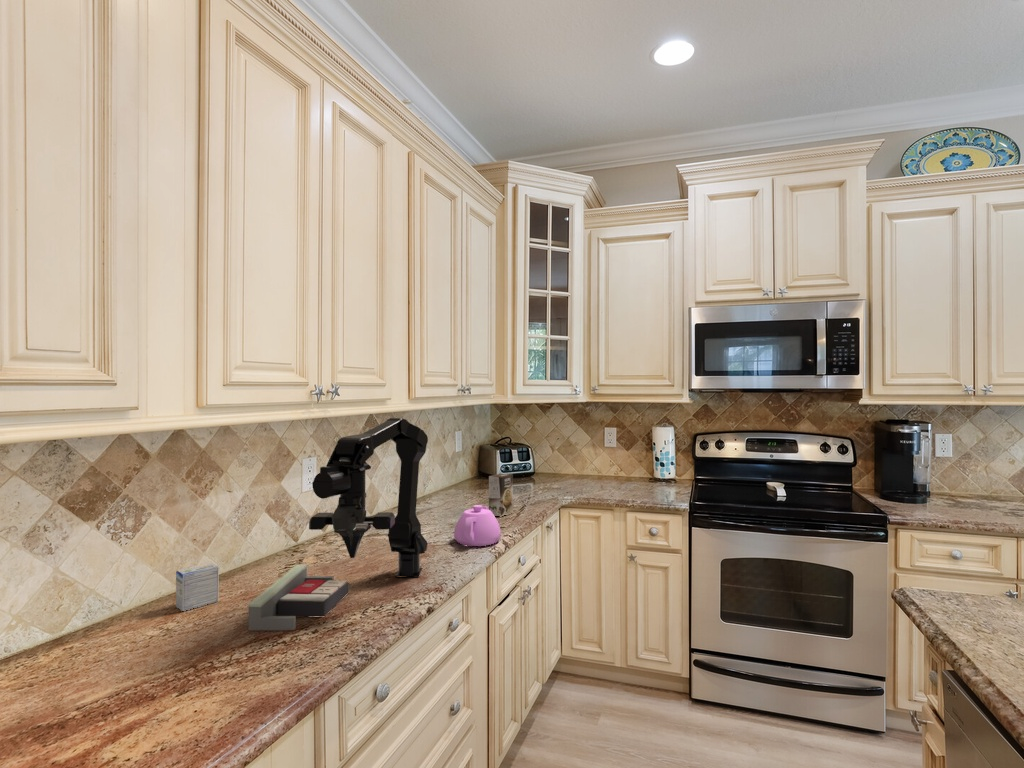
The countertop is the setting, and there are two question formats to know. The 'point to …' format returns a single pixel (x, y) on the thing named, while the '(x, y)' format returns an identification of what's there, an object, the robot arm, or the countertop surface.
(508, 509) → the coffee box
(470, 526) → the teapot
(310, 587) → the calculator
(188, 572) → the medicine box
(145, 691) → the countertop surface
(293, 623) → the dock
